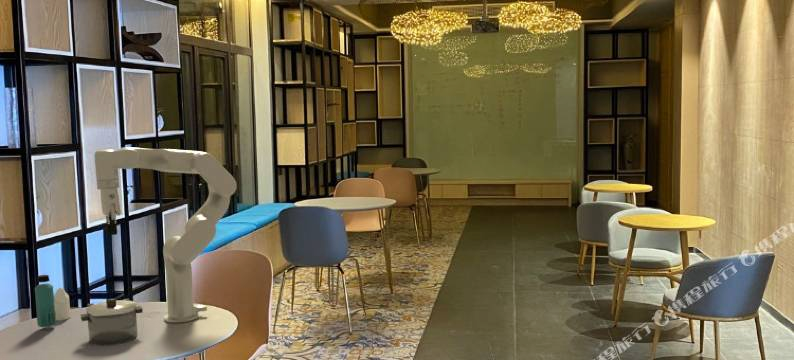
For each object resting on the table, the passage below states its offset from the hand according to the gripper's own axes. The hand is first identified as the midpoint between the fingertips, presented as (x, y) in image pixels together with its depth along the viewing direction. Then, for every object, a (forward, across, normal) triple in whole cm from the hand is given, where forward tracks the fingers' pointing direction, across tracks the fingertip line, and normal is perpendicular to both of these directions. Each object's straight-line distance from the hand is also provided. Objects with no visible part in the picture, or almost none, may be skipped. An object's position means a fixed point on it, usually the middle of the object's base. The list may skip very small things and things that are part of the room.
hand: (112, 234), depth 281 cm
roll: (+35, +28, +16) cm, 47 cm away
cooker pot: (+35, -11, +4) cm, 37 cm away
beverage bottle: (+35, +16, +23) cm, 45 cm away
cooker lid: (+25, -11, +4) cm, 27 cm away
